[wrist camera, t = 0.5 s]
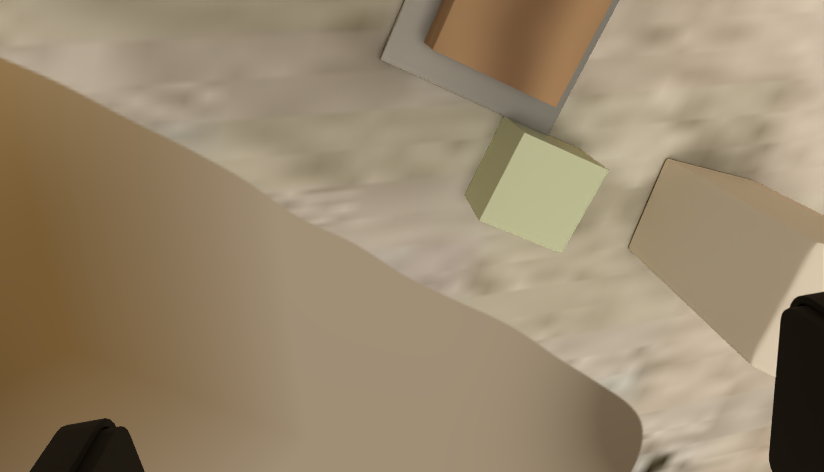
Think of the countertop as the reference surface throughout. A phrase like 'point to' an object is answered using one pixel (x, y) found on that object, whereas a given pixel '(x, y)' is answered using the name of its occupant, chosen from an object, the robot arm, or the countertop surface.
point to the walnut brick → (519, 40)
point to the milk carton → (731, 253)
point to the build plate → (465, 81)
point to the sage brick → (534, 185)
